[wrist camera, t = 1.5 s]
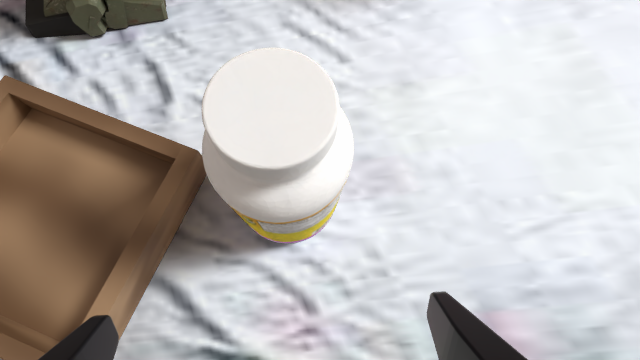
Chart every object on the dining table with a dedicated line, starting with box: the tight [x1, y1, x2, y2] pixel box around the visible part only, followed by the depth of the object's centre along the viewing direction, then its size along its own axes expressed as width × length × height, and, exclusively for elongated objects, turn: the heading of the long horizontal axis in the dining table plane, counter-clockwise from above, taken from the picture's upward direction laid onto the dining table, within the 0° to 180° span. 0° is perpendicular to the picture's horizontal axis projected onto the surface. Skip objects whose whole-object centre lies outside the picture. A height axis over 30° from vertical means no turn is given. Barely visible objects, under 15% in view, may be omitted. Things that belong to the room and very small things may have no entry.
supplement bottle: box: [202, 48, 354, 243], centre depth 18 cm, size 7×7×13 cm
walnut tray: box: [0, 75, 207, 360], centre depth 21 cm, size 14×14×3 cm
